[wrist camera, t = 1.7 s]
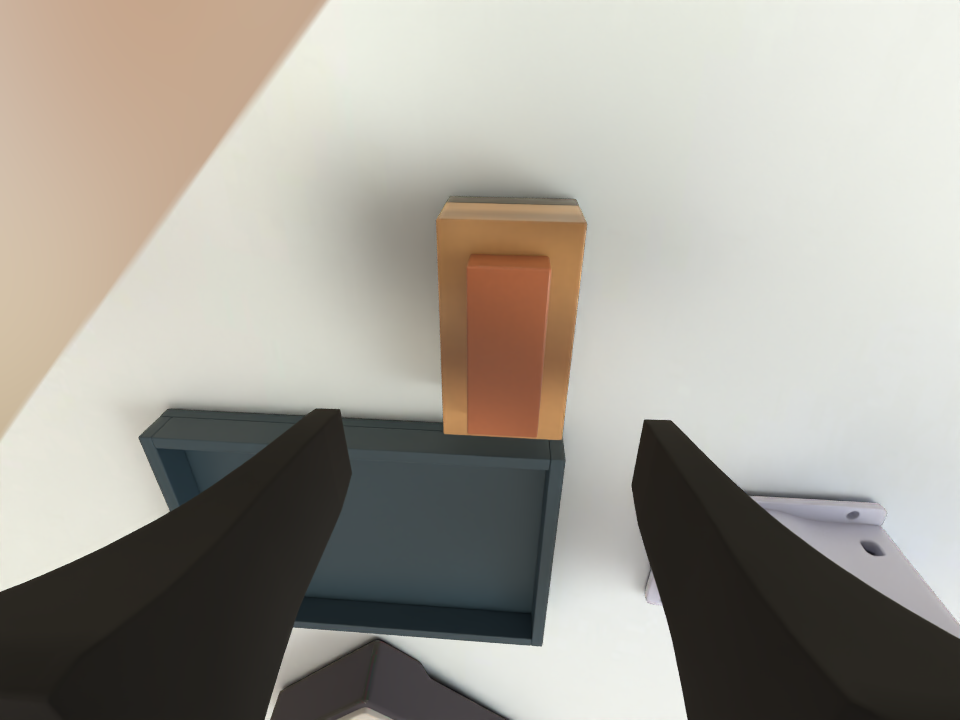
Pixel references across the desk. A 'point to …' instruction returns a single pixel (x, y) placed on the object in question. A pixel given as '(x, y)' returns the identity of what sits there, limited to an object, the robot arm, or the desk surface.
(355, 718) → the calculator
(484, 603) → the tray
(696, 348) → the desk surface
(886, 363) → the desk surface
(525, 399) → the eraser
